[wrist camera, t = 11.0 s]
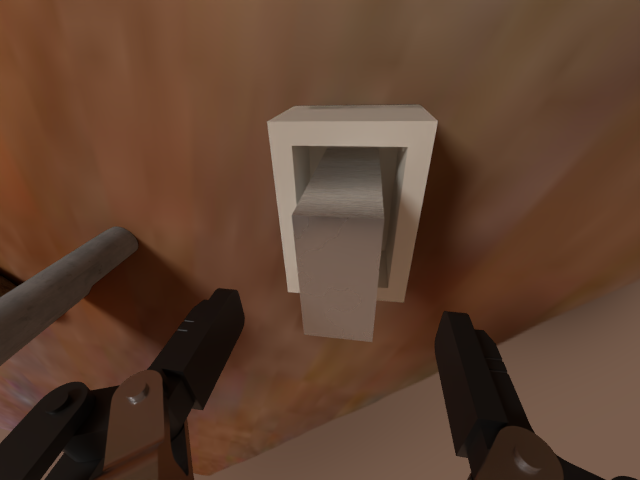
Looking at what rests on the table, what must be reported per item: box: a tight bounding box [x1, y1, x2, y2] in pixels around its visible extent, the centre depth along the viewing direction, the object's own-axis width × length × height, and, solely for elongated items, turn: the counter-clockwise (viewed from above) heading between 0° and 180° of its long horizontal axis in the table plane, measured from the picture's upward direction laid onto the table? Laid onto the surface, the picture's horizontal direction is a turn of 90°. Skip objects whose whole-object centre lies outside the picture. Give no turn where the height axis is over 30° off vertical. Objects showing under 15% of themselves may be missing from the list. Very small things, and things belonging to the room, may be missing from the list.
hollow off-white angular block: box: [267, 105, 438, 303], centre depth 19 cm, size 8×12×6 cm
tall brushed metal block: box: [292, 148, 384, 342], centre depth 16 cm, size 4×7×10 cm, turn 2°
